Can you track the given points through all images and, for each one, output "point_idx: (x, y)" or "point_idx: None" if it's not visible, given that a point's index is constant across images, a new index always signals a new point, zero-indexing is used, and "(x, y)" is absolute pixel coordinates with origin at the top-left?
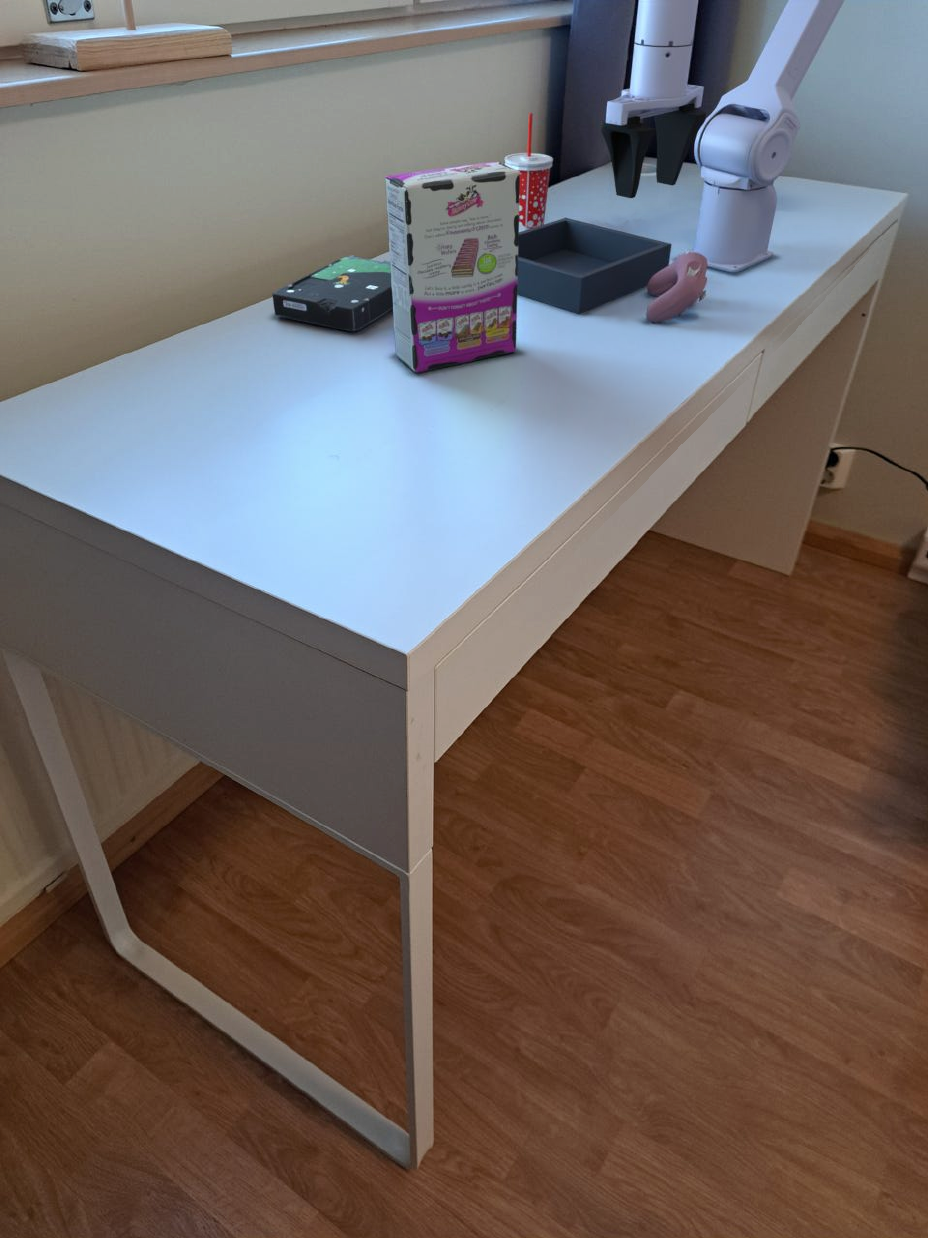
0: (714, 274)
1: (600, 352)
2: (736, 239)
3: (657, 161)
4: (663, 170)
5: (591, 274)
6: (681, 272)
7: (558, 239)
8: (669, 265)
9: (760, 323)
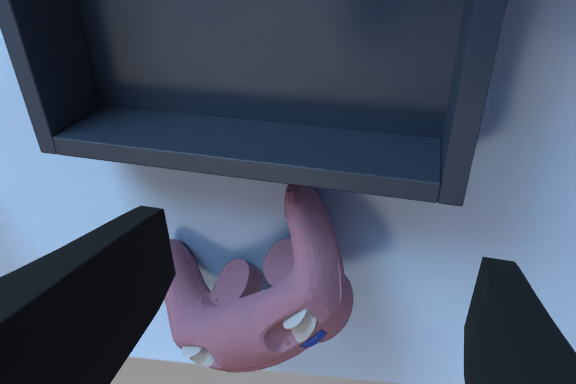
0: (569, 239)
1: (28, 229)
2: None
3: (501, 323)
4: (481, 328)
5: (76, 155)
6: (186, 334)
7: None
8: (297, 256)
9: (318, 372)
